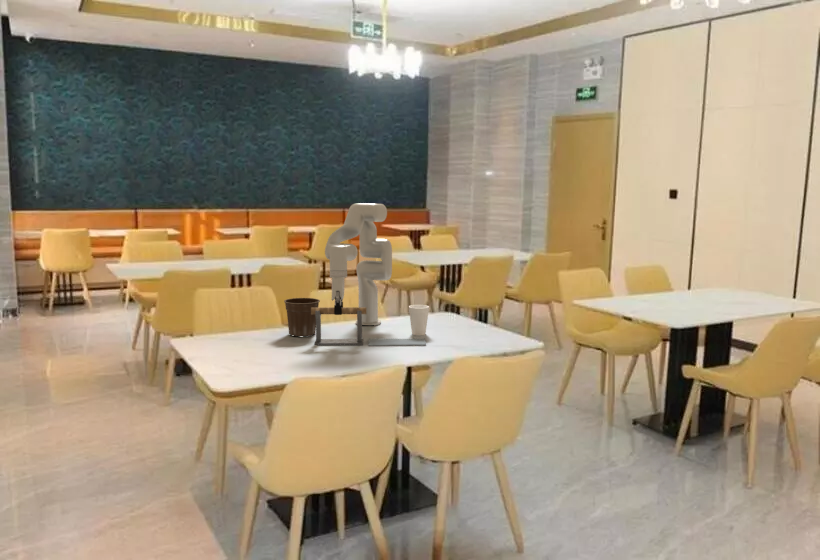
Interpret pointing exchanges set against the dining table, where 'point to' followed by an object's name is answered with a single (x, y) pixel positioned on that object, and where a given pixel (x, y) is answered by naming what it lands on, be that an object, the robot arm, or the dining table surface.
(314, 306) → the plant pot
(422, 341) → the slate mat
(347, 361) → the dining table surface
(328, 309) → the oak dowel
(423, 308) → the foam cup
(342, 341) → the cradle stands
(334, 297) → the robot arm
